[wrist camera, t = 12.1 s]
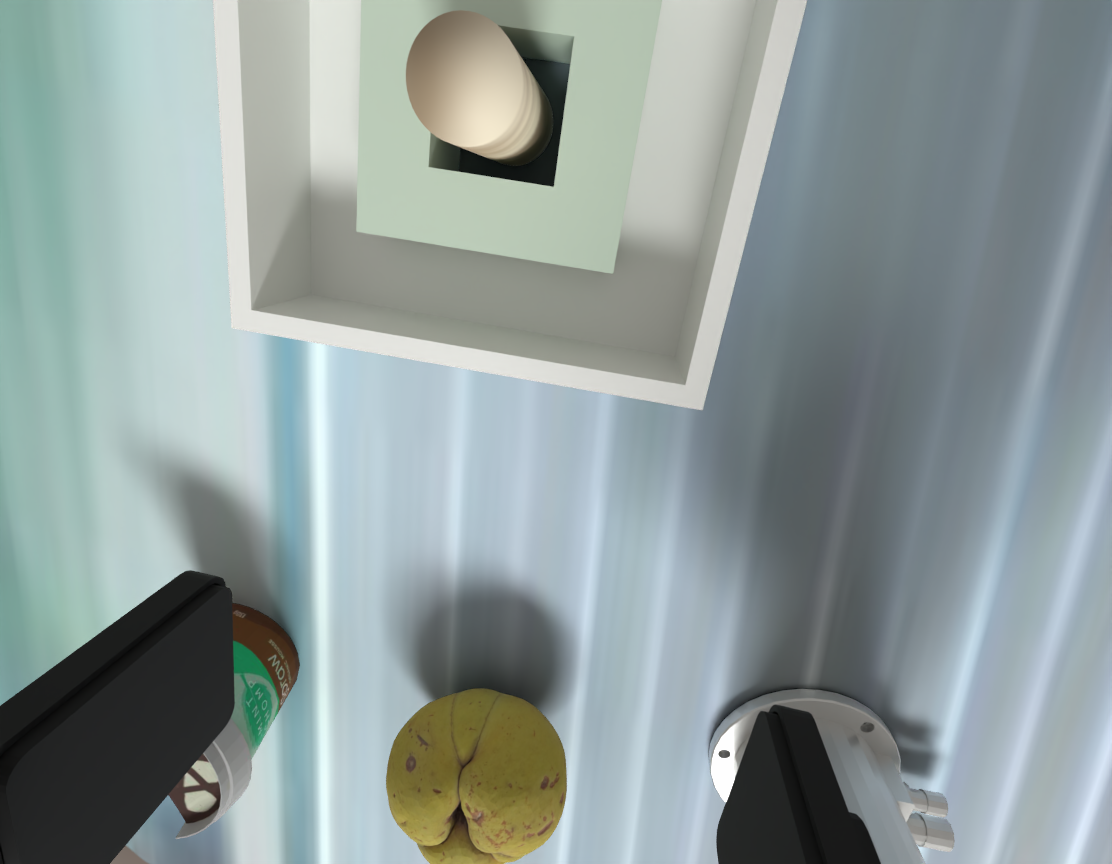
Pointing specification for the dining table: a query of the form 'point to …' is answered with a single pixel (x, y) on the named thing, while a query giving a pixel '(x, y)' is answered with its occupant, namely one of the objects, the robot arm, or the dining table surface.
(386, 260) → the box
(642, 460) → the dining table surface
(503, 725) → the fruit
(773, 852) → the robot arm
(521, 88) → the peg
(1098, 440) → the dining table surface
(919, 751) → the dining table surface
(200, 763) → the food container
